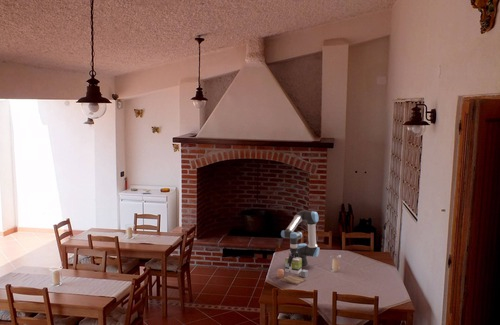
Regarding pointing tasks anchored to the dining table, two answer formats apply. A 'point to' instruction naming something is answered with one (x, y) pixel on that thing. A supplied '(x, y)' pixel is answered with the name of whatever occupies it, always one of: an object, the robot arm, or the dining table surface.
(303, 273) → the slate block
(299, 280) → the slatted wooden board
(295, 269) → the tea box
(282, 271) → the terracotta jar
